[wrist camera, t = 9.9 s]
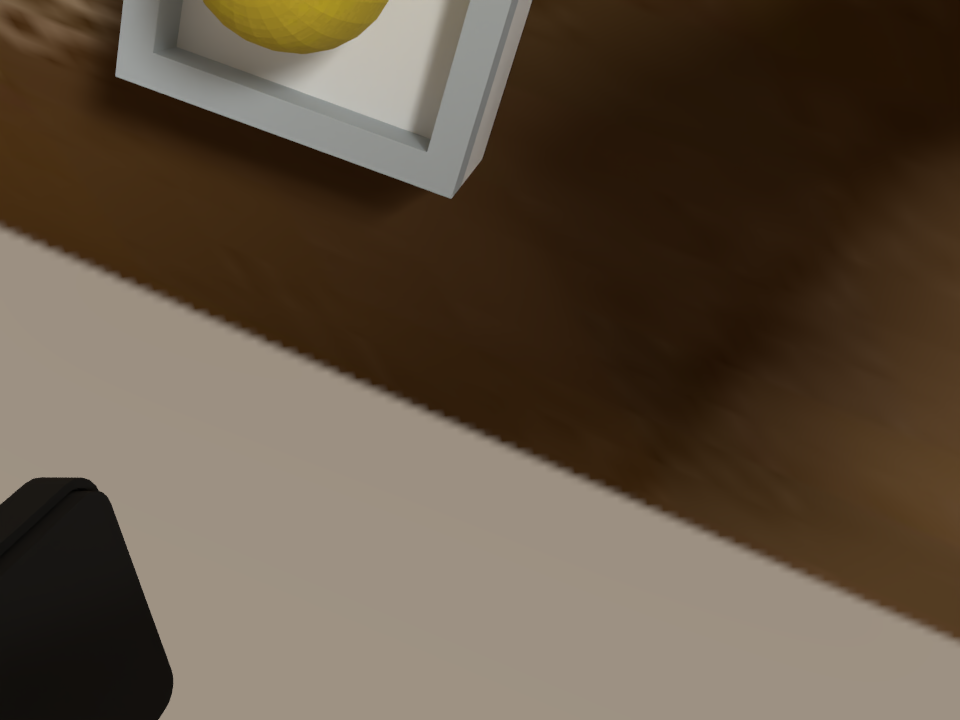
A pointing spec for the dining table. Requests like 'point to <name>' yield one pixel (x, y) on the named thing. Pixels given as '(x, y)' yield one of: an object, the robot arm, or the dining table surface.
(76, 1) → the dining table surface
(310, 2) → the lemon
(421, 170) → the tray
